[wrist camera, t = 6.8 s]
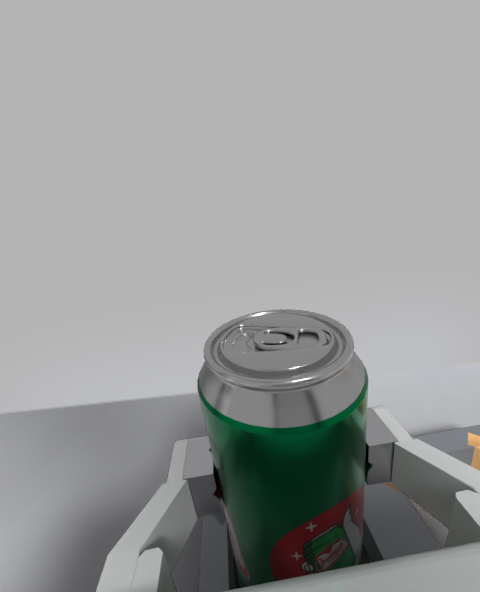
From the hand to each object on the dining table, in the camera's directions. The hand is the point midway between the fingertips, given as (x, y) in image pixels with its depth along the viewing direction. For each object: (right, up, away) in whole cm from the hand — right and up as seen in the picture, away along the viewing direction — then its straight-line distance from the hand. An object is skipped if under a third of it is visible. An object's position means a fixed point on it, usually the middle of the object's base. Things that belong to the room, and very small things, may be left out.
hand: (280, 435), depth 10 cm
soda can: (+1, -7, +2) cm, 7 cm away
